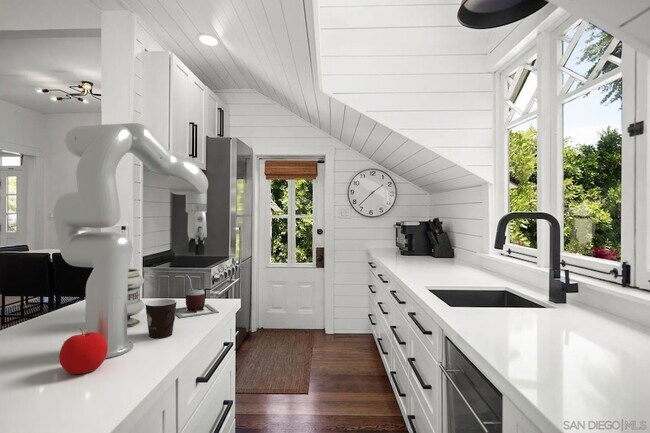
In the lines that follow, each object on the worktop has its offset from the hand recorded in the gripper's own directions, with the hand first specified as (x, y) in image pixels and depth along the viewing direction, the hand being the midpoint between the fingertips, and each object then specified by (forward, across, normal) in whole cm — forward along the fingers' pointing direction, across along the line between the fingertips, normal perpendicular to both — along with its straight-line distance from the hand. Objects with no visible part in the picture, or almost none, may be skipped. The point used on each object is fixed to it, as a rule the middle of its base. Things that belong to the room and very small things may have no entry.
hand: (196, 253), depth 134 cm
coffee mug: (+22, -24, +17) cm, 37 cm away
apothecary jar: (+22, -4, +25) cm, 33 cm away
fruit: (+21, -40, +36) cm, 57 cm away
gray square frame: (+22, 0, +1) cm, 22 cm away
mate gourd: (+22, 0, +1) cm, 22 cm away
